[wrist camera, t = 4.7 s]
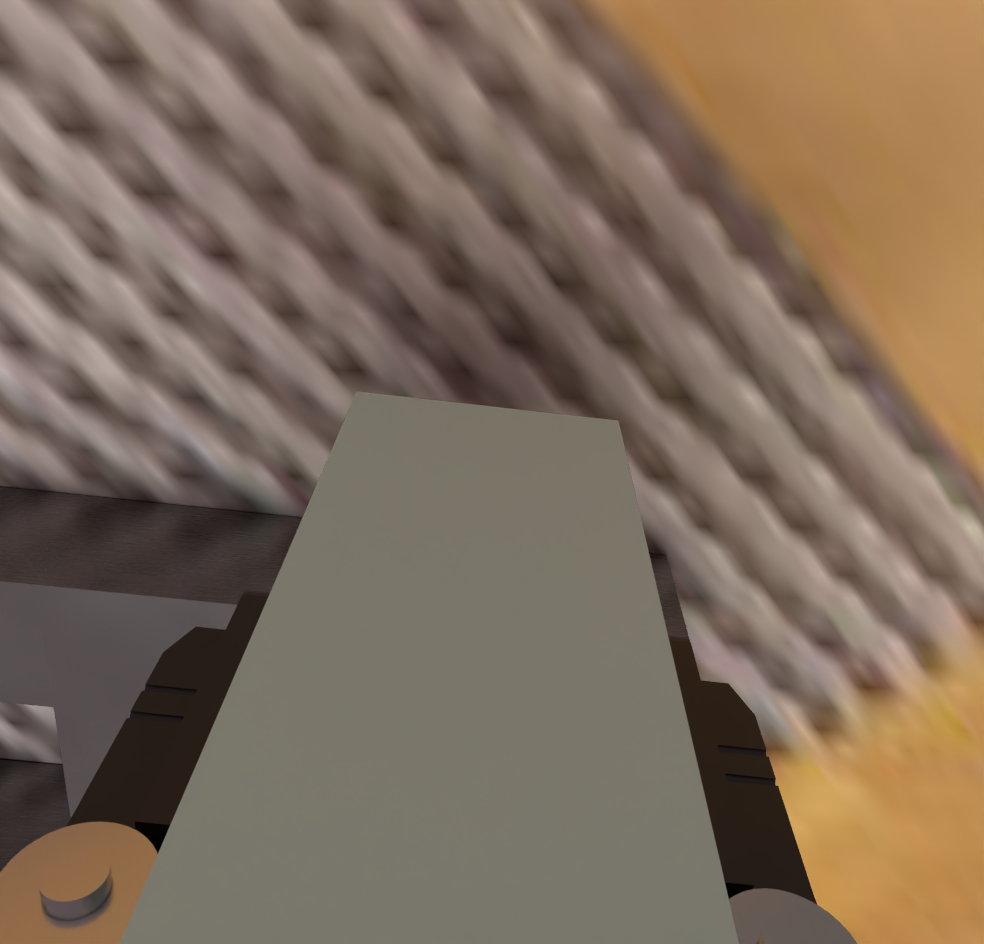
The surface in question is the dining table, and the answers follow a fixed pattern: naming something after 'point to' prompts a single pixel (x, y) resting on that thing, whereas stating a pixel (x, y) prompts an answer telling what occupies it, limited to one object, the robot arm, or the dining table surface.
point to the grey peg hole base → (121, 621)
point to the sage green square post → (451, 710)
